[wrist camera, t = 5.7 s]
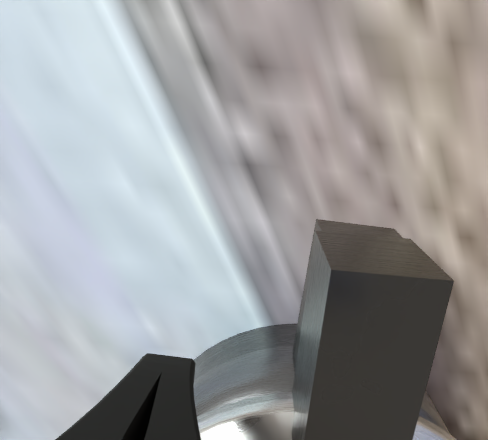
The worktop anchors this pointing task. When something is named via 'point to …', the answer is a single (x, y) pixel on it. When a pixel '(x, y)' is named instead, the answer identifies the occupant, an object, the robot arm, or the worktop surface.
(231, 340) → the cooker pot
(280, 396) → the lid
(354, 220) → the worktop surface
